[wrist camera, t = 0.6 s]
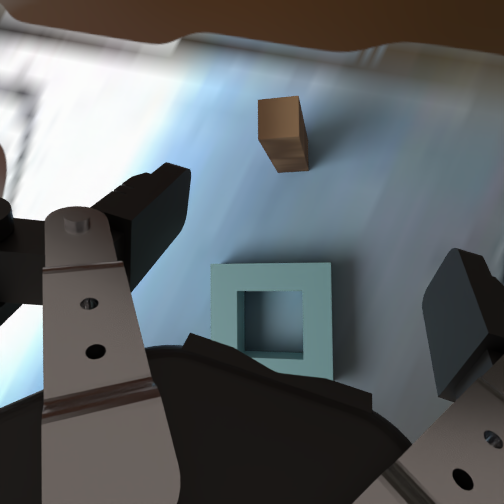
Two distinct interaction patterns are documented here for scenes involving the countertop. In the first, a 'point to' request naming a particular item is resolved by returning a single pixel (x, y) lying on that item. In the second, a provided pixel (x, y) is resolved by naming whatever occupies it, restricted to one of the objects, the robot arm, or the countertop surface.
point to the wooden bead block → (277, 279)
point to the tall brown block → (283, 133)
